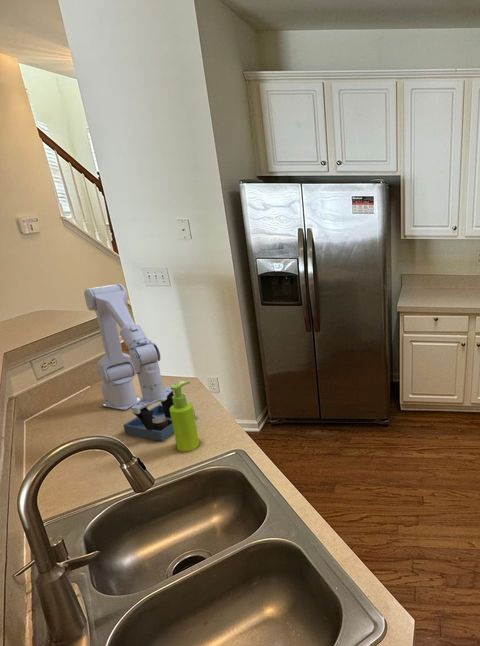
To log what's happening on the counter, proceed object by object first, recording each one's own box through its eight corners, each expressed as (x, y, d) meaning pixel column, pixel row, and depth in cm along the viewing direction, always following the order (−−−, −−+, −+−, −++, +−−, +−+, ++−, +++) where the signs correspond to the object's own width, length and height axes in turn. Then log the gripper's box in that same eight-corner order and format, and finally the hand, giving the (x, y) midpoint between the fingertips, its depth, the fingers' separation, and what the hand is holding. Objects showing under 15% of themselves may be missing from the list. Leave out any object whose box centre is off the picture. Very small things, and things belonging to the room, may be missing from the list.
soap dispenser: (206, 440, 130) (195, 381, 123) (188, 453, 124) (176, 391, 117) (190, 436, 132) (179, 377, 125) (172, 449, 126) (159, 388, 119)
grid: (125, 433, 133) (123, 425, 132) (160, 411, 145) (159, 403, 144) (162, 441, 129) (160, 432, 128) (195, 418, 142) (193, 410, 141)
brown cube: (150, 433, 132) (147, 422, 130) (161, 426, 136) (158, 415, 134) (161, 435, 131) (159, 424, 129) (172, 428, 135) (170, 417, 133)
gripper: (141, 396, 120) (151, 437, 125) (180, 375, 133) (187, 413, 138) (121, 392, 122) (132, 433, 127) (161, 372, 135) (169, 410, 140)
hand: (159, 422), depth 132 cm, fingers open, 7 cm apart
